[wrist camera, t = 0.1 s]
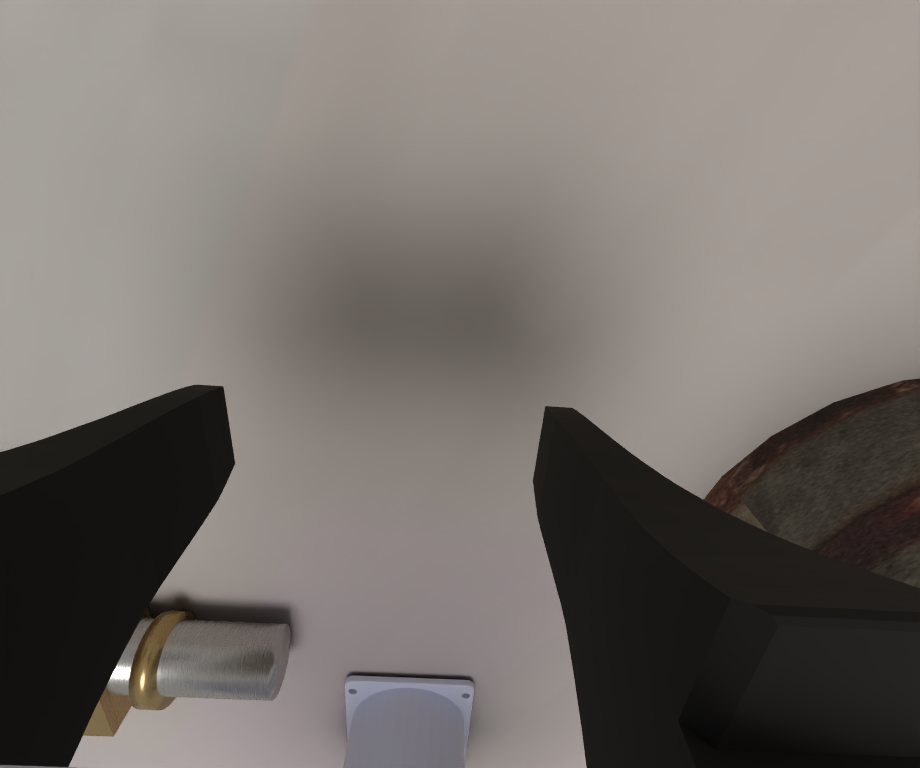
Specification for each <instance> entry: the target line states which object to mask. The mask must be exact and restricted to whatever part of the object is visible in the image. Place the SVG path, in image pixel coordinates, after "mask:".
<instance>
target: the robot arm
mask: <svg viewBox="0 0 920 768" xmlns="http://www.w3.org/2000/svg"><path fill="white" fill-rule="evenodd" d="M234 465H235V460H234V453H233V447H232V440H231V434H230V427H229V421H228V414H227V407H226V401H225V394H224V388H223V386H208V385H192V386H188V387H184V388H181V389H178V390H175V391H172V392H169V393H166V394H164V395H161V396H158V397H156V398H153V399H150V400H148V401H145V402H142V403H140V404H137V405H135V406H132V407H130V408H127V409H124V410H122V411H119V412H117V413H114V414H111V415H109V416H106V417H104V418H101V419H98V420H95V421H93V422H90V423H87V424H84V425H81V426H79V427H76V428H73V429H70V430H67V431H65V432H62V433H59V434H56V435H53V436H51V437H48V438H45V439H42V440H39V441H36V442H33V443H30V444H26V445H23V446H20V447H17V448H13V449H10V450H7V451H3V452H0V768H75V767H69V764H70V762H71V760H72V758H73V756H74V753H75V751H76V749H77V747H78V745H79V743H80V740H81V738H82V736H83V734H84V732H85V730H86V727H87V725H88V723H89V721H90V719H91V717H92V714H93V712H94V710H95V708H96V706H97V704H98V702H99V700H100V698H101V696H102V694H103V692H104V690H105V688H106V686H107V684H108V682H109V680H110V678H111V676H112V674H113V672H114V670H115V668H116V666H117V664H118V662H119V660H120V658H121V656H122V654H123V652H124V650H125V648H126V646H127V644H128V642H129V641H130V639H131V637H132V635H133V633H134V631H135V629H136V627H137V626H138V624H139V622H140V620H141V618H142V616H143V614H144V612H145V611H146V609H147V607H148V605H149V604H150V602H151V600H152V599H153V597H154V596H155V594H156V592H157V591H158V589H159V587H160V586H161V584H162V583H163V581H164V580H165V579H166V577H167V576H168V574H169V573H170V571H171V570H172V568H173V567H174V565H175V564H176V562H177V561H178V559H179V558H180V556H181V555H182V553H183V552H184V550H185V549H186V548H187V546H188V545H189V543H190V542H191V540H192V539H193V537H194V536H195V534H196V533H197V531H198V530H199V528H200V527H201V525H202V524H203V522H204V521H205V519H206V518H207V516H208V515H209V513H210V512H211V510H212V509H213V507H214V506H215V504H216V502H217V501H218V499H219V497H220V495H221V493H222V491H223V489H224V487H225V485H226V483H227V480H228V478H229V476H230V474H231V471H232V469H233V467H234ZM533 484H534V493H535V501H536V508H537V516H538V521H539V524H540V528H541V532H542V536H543V540H544V543H545V547H546V551H547V554H548V558H549V562H550V565H551V569H552V573H553V576H554V580H555V584H556V587H557V591H558V595H559V598H560V602H561V606H562V610H563V615H564V619H565V624H566V629H567V635H568V641H569V647H570V653H571V659H572V665H573V672H574V678H575V685H576V692H577V699H578V706H579V712H580V719H581V726H582V734H583V742H584V750H585V757H586V765H587V768H920V588H918V587H915V586H912V585H909V584H906V583H903V582H900V581H897V580H894V579H891V578H888V577H885V576H882V575H879V574H876V573H873V572H870V571H867V570H864V569H861V568H858V567H855V566H852V565H849V564H846V563H843V562H840V561H838V560H835V559H832V558H830V557H827V556H825V555H822V554H819V553H817V552H814V551H812V550H809V549H807V548H804V547H802V546H799V545H797V544H794V543H792V542H789V541H787V540H785V539H782V538H780V537H778V536H775V535H773V534H771V533H769V532H766V531H764V530H762V529H760V528H758V527H755V526H753V525H751V524H749V523H747V522H745V521H743V520H741V519H739V518H737V517H735V516H733V515H731V514H728V513H726V512H725V511H723V510H721V509H719V508H717V507H715V506H713V505H711V504H709V503H708V502H706V501H704V500H702V499H701V498H699V497H697V496H695V495H694V494H692V493H690V492H689V491H687V490H685V489H683V488H682V487H680V486H678V485H677V484H675V483H673V482H672V481H670V480H669V479H667V478H666V477H664V476H663V475H661V474H660V473H658V472H657V471H655V470H654V469H652V468H651V467H650V466H648V465H647V464H645V463H644V462H642V461H641V460H640V459H638V458H637V457H635V456H634V455H633V454H631V453H630V452H629V451H627V450H626V449H625V448H623V447H622V446H621V445H620V444H618V443H617V442H616V441H614V440H613V439H612V438H611V437H609V436H608V435H607V434H606V433H604V432H603V431H602V430H601V429H599V428H598V427H597V426H596V425H594V424H593V423H592V422H591V421H589V420H588V419H587V418H586V417H584V416H583V415H582V414H580V413H579V412H578V411H576V410H575V409H573V408H565V407H549V406H545V412H544V418H543V424H542V430H541V436H540V442H539V448H538V454H537V460H536V466H535V472H534V478H533ZM473 697H474V683H473V682H472V681H470V680H456V679H430V678H405V677H379V676H349V677H347V678H346V681H345V704H346V724H347V743H348V746H347V751H346V756H345V762H344V767H343V768H464V765H465V758H466V750H467V742H468V735H469V727H470V719H471V712H472V704H473Z"/></svg>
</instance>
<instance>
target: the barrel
mask: <svg viewBox="0 0 920 768" xmlns="http://www.w3.org/2000/svg"><path fill="white" fill-rule="evenodd" d="M704 501H706V502H708V503H709V504H711V505H713V506H715V507H717V508H719V509H721V510H723V511H725V512H726V513H728V514H731V515H733V516H735V517H737V518H739V519H741V520H743V521H745V522H747V523H749V524H751V525H753V526H755V527H758V528H760V529H762V530H764V531H766V532H769V533H771V534H773V535H775V536H778V537H780V538H782V539H785V540H787V541H789V542H792V543H794V544H797V545H799V546H802V547H804V548H807V549H809V550H812V551H814V552H817V553H819V554H822V555H825V556H827V557H830V558H832V559H835V560H838V561H840V562H843V563H846V564H849V565H852V566H855V567H858V568H861V569H864V570H867V571H870V572H873V573H876V574H879V575H882V576H885V577H888V578H891V579H894V580H897V581H900V582H903V583H906V584H909V585H912V586H915V587H918V588H920V379H913V380H904V381H900V382H897V383H894V384H891V385H887V386H884V387H881V388H878V389H875V390H872V391H869V392H866V393H862V394H859V395H856V396H853V397H850V398H847V399H844V400H841V401H838V402H834V403H832V404H830V405H828V406H827V407H825V408H823V409H821V410H819V411H817V412H816V413H814V414H812V415H810V416H808V417H806V418H804V419H803V420H801V421H799V422H797V423H795V424H793V425H791V426H790V427H788V428H786V429H784V430H782V431H780V432H779V433H777V434H775V435H773V436H771V437H770V438H769V439H768V440H766V441H765V442H764V443H763V444H761V445H760V446H759V447H758V448H757V449H755V450H754V451H753V452H752V453H750V454H749V455H748V456H747V457H746V458H744V459H743V460H742V461H741V462H739V463H738V464H737V465H736V466H735V467H733V468H732V469H731V470H730V471H728V472H727V473H726V474H725V475H723V476H722V477H721V479H720V480H719V481H718V482H717V484H716V485H715V486H714V487H713V489H712V490H711V491H710V493H709V494H708V495H707V496H706V498H705V499H704Z"/></svg>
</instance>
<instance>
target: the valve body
mask: <svg viewBox="0 0 920 768" xmlns="http://www.w3.org/2000/svg"><path fill="white" fill-rule="evenodd" d="M289 650H290V628H289V626H288V624H277V623H253V622H230V621H206V620H196V619H195V617H194V615H193V614H192V613H191V612H189V611H171V610H169V611H164V612H163V613H161V614H160V615H158V616H157V617H156V618H152V617H151V614H150V611H149V607H147V609H146V611H145V612H144V614H143V616H142V618H141V620H140V622H139V624H138V626H137V627H136V629H135V631H134V633H133V635H132V637H131V639H130V641H129V642H128V644H127V646H126V648H125V650H124V652H123V654H122V656H121V658H120V660H119V662H118V664H117V666H116V668H115V670H114V672H113V674H112V676H111V678H110V680H109V682H108V684H107V686H106V688H105V690H104V692H103V694H102V696H101V698H100V700H99V702H98V704H97V706H96V708H95V710H94V712H93V714H92V717H91V719H90V721H89V723H88V725H87V727H86V730H85V732H84V734H83V735H86V736H114V735H115V733H116V732H117V730H118V728H119V726H120V725H121V723H122V721H123V720H124V718H125V716H126V714H127V713H128V711H129V709H130V708H131V706H133V707H134V708H136V709H139V710H163V709H165V708H166V707H168V706H169V705H170V704H171V703H172V702H173V701H174V699H175V698H176V697H189V698H216V699H243V700H270V701H272V700H274V699H275V698H276V696H277V694H278V693H279V690H280V688H281V685H282V682H283V679H284V676H285V672H286V668H287V663H288V657H289Z"/></svg>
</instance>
